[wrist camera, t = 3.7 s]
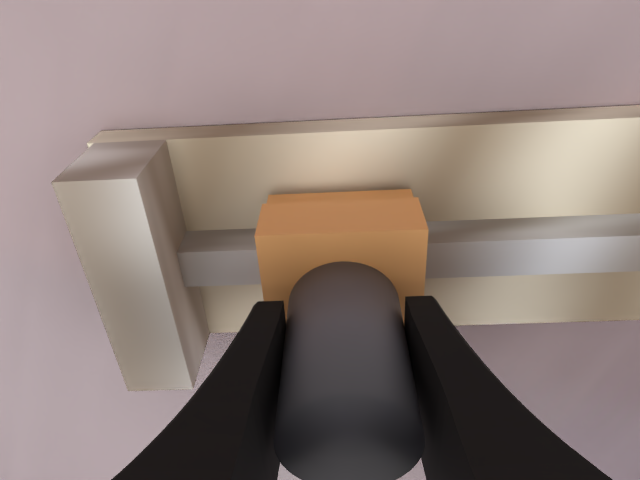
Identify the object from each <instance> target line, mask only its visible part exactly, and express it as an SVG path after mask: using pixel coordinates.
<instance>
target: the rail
mask: <svg viewBox="0 0 640 480" xmlns="http://www.w3.org/2000/svg"><path fill="white" fill-rule="evenodd" d="M87 145H88V149H87V150H86V151H85V152H84V153H83V154H82V155H81V156H79V157H78V158H77V159H76V160H75V161H74V162H73V163H72V164H71V165H70V166H69V167H67V168H66V169H65V170H64V171H63V172H62V173H61V174H60V175H59V176H58V177H57V178H55V179H54V180H53V181H52V182H51V183H52V185H53V188H54V191H55V194H56V196H57V199H58V202H59V204H60V207H61V210H62V213H63V215H64V218H65V221H66V223H67V226H68V229H69V232H70V234H71V237H72V240H73V242H74V245H75V248H76V251H77V253H78V256H79V259H80V261H81V264H82V267H83V270H84V272H85V275H86V278H87V280H88V283H89V286H90V289H91V291H92V294H93V297H94V299H95V302H96V305H97V308H98V310H99V313H100V316H101V319H102V321H103V324H104V327H105V329H106V332H107V335H108V338H109V340H110V343H111V346H112V348H113V351H114V354H115V357H116V359H117V362H118V365H119V367H120V370H121V373H122V376H123V378H124V381H125V384H126V386H127V389H128V391H152V390H191V389H193V388H194V385H195V381H196V378H197V374H198V371H199V368H200V364H201V361H202V357H203V354H204V351H205V347H206V344H207V340H208V337H209V334H210V333H227V332H239V330H240V329H241V327H242V325H243V324H244V322H245V320H246V318H247V317H248V315H249V313H250V311H251V309H252V307H253V306H254V305H255V304H256V303H257V302H258V301H264V299H263V292H262V285H261V278H260V271H259V264H258V258H257V251H256V244H255V237H254V235H255V231H256V227H257V223H258V219H259V215H260V211H261V207H262V204H266V203H267V199H268V195H278V194H301V193H325V192H349V191H373V190H397V189H411V190H412V193H413V197H418V198H419V201H420V205H421V208H422V211H423V214H424V217H425V220H426V223H427V226H428V229H429V231H428V246H427V260H426V275H425V289H424V296H433V297H434V298H435V299H436V300H437V301H438V303H439V305H440V306H441V308H442V309H443V311H444V312H445V314H446V315H447V316H448V318H449V319H450V321H451V322H452V323H453V325H454V326H456V325H489V324H522V323H555V322H588V321H620V320H640V105H629V106H608V107H588V108H567V109H546V110H525V111H504V112H484V113H463V114H442V115H421V116H400V117H379V118H359V119H338V120H317V121H296V122H275V123H255V124H234V125H213V126H192V127H171V128H150V129H130V130H109V131H100V132H99V133H98V134H97V135H96V136H95V137H94V138H92V139H91V140H90V141H89V142H88V143H87Z"/></svg>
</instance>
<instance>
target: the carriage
mask: <svg viewBox="0 0 640 480" xmlns="http://www.w3.org/2000/svg"><path fill="white" fill-rule="evenodd" d="M428 231H429V229H428V226H427V223H426V220H425V217H424V214H423V211H422V208H421V205H420V201H419V198H418V197H413V193H412V190H411V189H397V190H373V191H349V192H325V193H301V194H278V195H268V199H267V203H266V204H262V207H261V211H260V215H259V219H258V223H257V227H256V231H255V235H254V237H255V244H256V251H257V258H258V264H259V271H260V278H261V285H262V292H263V299H264V301H284V310H285V318H286V331H285V340H284V349H283V358H282V366H281V375H280V385H279V394H278V403H277V412H276V421H275V430H274V440H273V443H274V450H275V454H276V456H277V458H278V460H279V461H280V462H281V464H282V465H283V466H284V467H285V468H286V469H287V470H288V471H289V472H290V473H292V474H293V475H295V476H296V477H298V478H299V479H302V480H396V479H398V478H400V477H402V476H403V475H404V474H406V473H407V472H409V471H410V470H411V469H412V468H413V467H414V466H415V465H416V464H417V463H418V461H419V460H420V458H421V456H422V454H423V451H424V447H425V435H424V430H423V424H422V419H421V414H420V408H419V403H418V398H417V392H416V387H415V382H414V376H413V371H412V366H411V360H410V355H409V350H408V344H407V339H406V334H405V328H404V317H405V296H424V289H425V275H426V260H427V246H428Z"/></svg>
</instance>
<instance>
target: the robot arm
mask: <svg viewBox="0 0 640 480" xmlns="http://www.w3.org/2000/svg"><path fill="white" fill-rule="evenodd" d="M404 328H405V334H406V339H407V344H408V350H409V355H410V360H411V366H412V371H413V376H414V382H415V387H416V392H417V398H418V403H419V408H420V414H421V419H422V424H423V430H424V435H425V447H424V451H423V454H422V456H421V459H422V463H423V467H424V471H425V475H426V480H612V479H611V478H610V477H608V476H607V475H606V474H604V473H603V472H602V471H600V470H599V469H598V468H597V467H595V466H594V465H593V464H591V463H590V462H589V461H588V460H586V459H585V458H584V457H582V456H581V455H580V454H579V453H577V452H576V451H575V450H574V449H572V448H571V447H570V446H568V445H567V444H566V443H565V442H563V441H562V440H561V439H560V438H559V437H558V436H557V435H555V434H554V433H553V432H552V431H551V430H550V429H549V428H547V427H546V426H545V425H544V424H543V423H542V422H541V421H540V420H539V419H537V418H536V417H535V416H534V415H533V414H532V413H531V412H530V411H529V410H528V409H527V408H526V407H525V406H524V405H523V404H522V403H521V402H520V401H519V400H518V399H517V398H516V397H515V396H514V395H513V394H512V393H511V392H510V391H509V390H508V389H507V388H506V387H505V386H504V385H503V384H502V383H501V382H500V381H499V379H498V378H497V377H496V376H495V375H494V374H493V373H492V372H491V371H490V369H489V368H488V367H487V366H486V365H485V364H484V363H483V361H482V360H481V359H480V358H479V357H478V355H477V354H476V353H475V352H474V350H473V349H472V348H471V347H470V346H469V344H468V343H467V342H466V341H465V339H464V338H463V337H462V335H461V334H460V333H459V331H458V330H457V329H456V327H455V326H454V325H453V323H452V322H451V321H450V319H449V318H448V316H447V315H446V314H445V312H444V311H443V309H442V308H441V306H440V305H439V303H438V301H437V300H436V299H435V298H434V297H433V296H405V317H404ZM285 331H286V318H285V310H284V301H258V302H257V303H256V304H255V305H254V306H253V307H252V309H251V311H250V313H249V315H248V317H247V318H246V320H245V322H244V324H243V325H242V327H241V329H240V330H239V332H238V333H237V335H236V337H235V338H234V340H233V341H232V343H231V344H230V346H229V347H228V349H227V350H226V352H225V353H224V355H223V356H222V358H221V359H220V361H219V362H218V364H217V365H216V366H215V368H214V369H213V371H212V372H211V373H210V374H209V376H208V377H207V378H206V380H205V381H204V382H203V384H202V385H201V386H200V388H199V389H198V390H197V391H196V393H195V394H194V395H193V397H192V398H191V399H190V400H189V401H188V403H187V404H186V405H185V406H184V407H183V408H182V410H181V411H180V412H179V413H178V414H177V415H176V416H175V418H174V419H173V420H172V421H171V422H170V423H169V424H168V425H167V426H166V427H165V429H164V430H163V431H162V432H161V433H160V434H159V435H158V436H157V437H156V438H155V439H154V440H153V441H152V442H151V443H150V444H149V445H148V446H147V447H146V448H145V449H144V450H143V451H142V452H141V453H140V454H139V455H138V456H137V457H136V458H135V459H134V460H133V461H132V462H131V463H129V464H128V465H127V466H126V467H125V468H124V469H123V470H122V471H121V472H120V473H118V474H117V475H116V476H115V477H114V478H113V479H111V480H277V477H278V471H279V465H280V461H279V460H278V458H277V456H276V454H275V450H274V443H273V440H274V430H275V421H276V412H277V403H278V394H279V385H280V375H281V366H282V358H283V349H284V340H285Z"/></svg>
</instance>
